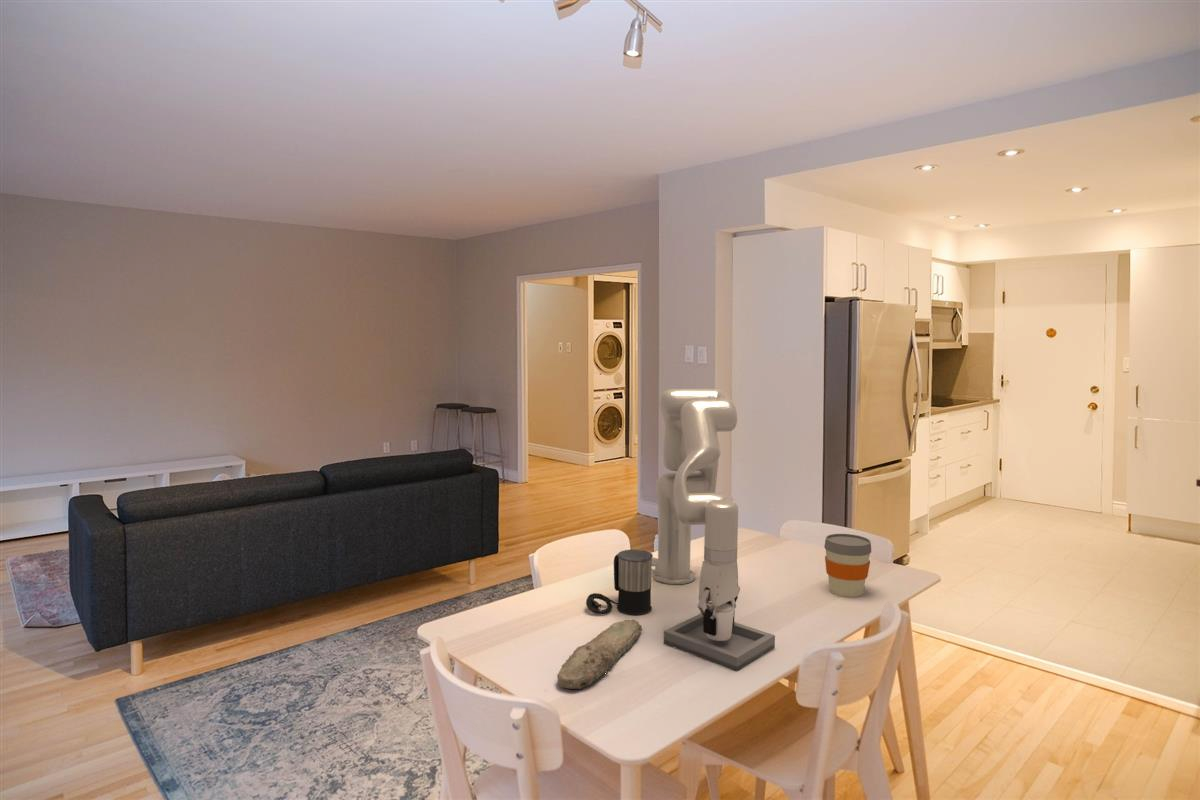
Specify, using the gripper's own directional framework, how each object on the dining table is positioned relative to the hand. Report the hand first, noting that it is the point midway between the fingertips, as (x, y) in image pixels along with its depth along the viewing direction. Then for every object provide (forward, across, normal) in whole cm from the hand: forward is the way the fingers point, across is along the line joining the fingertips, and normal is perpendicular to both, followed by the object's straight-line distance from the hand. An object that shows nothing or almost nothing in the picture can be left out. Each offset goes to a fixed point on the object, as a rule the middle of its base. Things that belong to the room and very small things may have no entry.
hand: (718, 628), depth 165 cm
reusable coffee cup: (+4, -55, +6) cm, 55 cm away
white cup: (+2, 0, 0) cm, 2 cm away
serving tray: (+4, 0, 0) cm, 4 cm away
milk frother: (+4, 0, -31) cm, 31 cm away
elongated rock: (+5, +23, -15) cm, 28 cm away
